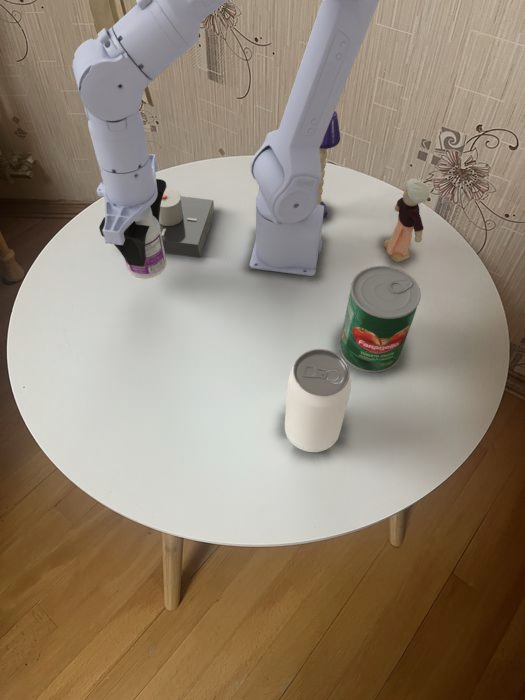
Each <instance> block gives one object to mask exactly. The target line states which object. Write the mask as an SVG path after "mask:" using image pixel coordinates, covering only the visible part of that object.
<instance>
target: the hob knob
mask: <svg viewBox="0 0 525 700" xmlns="http://www.w3.org/2000/svg"><path fill="white" fill-rule="evenodd" d="M182 219H183V210H182V203H181V194H180V192H178V191H177V190H175V189H170V188H166V189H165V192H164V194H163V197H162V201H161V206H160V215H159V223H160V224H161V225H164V226H173V225H176V224H178V223H180V222H181V221H182Z"/></svg>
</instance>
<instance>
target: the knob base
mask: <svg viewBox="0 0 525 700" xmlns="http://www.w3.org/2000/svg"><path fill="white" fill-rule="evenodd" d="M180 196H181V195H180ZM181 203H182V210H183V219H182V221H181V222H180V223H178V224H176V225H173V226H164V225H161V224H160V223H159V224H160V229H161V235H162V240H163V246H164V251H165V254H168V255H169V254H170V255H176V256H185V257H192V258H200V257H201V254H202V251H203V249H204V245H205V242H206V239H207V237H208V233H209V230H210V227H211V224H212V221H213V218H214V215H215V205H214V199H208V198H200V197H190V196H181Z"/></svg>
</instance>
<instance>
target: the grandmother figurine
mask: <svg viewBox="0 0 525 700" xmlns="http://www.w3.org/2000/svg"><path fill="white" fill-rule="evenodd" d="M404 187H405V190H403V194H402V197H400V198H399V199H398V200H397V202H396V204H395V205H394V212H397V213H398V214H397V215H398V217H397V223H396V226H395V228H394V231H393V233H392V234H391V237H390V238H388V239H386V240H384V242H383V247H384V248H385V249H386V253H387V254H388V255H389V256H390V258H391V260H392V261H394V262H396V263H401V262H404V261H405V260H408V259H409V258H410V253H409V249H410V245H411V241H412V238H413V232H414V238H413V239H414V242H415V243H421V242H423V241H422V240H423V231H424V225H423V220H422V217H421V214H420V204H422V203H424V202H425V203H426V202H427V200H428V199H429V197H430V192H429V189H428V186H427V185H426V184H425V182H423V180H420V179H417V178H410V179H408V180H407V181H406V182H405V184H404Z"/></svg>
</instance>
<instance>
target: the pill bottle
mask: <svg viewBox="0 0 525 700" xmlns="http://www.w3.org/2000/svg"><path fill="white" fill-rule="evenodd" d="M135 222H136V224H138V225H146V226H150V227H149V229H148V232H147V234H146V239H145V252H146V260H145V264H144V266H143V267H142V266H134V265H129V264H128V263H127V261H126V260H125V259H124V262H125V265H126V268H127V271H128V272H129V273H130V274H131V275H132V276H133V277H135V278H138V279H142V280H144V279H145V280H148V279H153V278H155V277H157V276H159V275H161V274H162V273H163V272H164V270H165V269H166V267H167V256H166V253H165V251H164V246H163V240H162V235H161V229H160V224H159V222H158V220H157V219H156V218H155V217H154V216H153V215H152V211H151V207H149V208H148V209H146V210H145V211H144V212H143V213H142V214H141V215H140V216H139V217H138V218H137V219H136V220H135Z"/></svg>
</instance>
